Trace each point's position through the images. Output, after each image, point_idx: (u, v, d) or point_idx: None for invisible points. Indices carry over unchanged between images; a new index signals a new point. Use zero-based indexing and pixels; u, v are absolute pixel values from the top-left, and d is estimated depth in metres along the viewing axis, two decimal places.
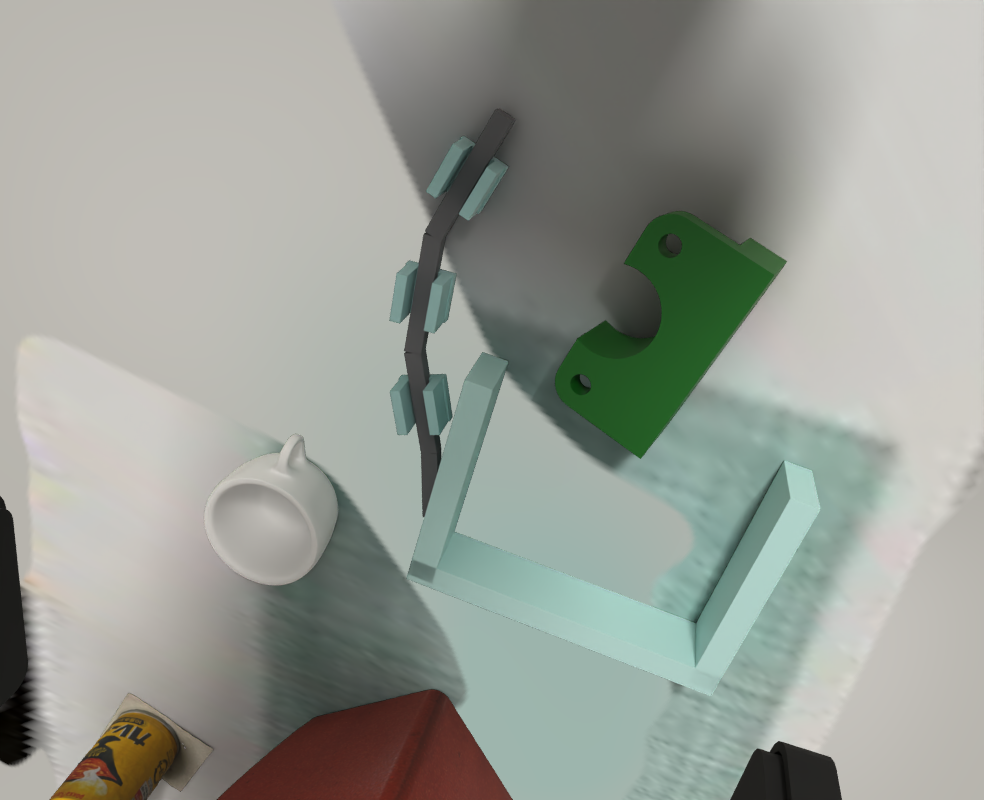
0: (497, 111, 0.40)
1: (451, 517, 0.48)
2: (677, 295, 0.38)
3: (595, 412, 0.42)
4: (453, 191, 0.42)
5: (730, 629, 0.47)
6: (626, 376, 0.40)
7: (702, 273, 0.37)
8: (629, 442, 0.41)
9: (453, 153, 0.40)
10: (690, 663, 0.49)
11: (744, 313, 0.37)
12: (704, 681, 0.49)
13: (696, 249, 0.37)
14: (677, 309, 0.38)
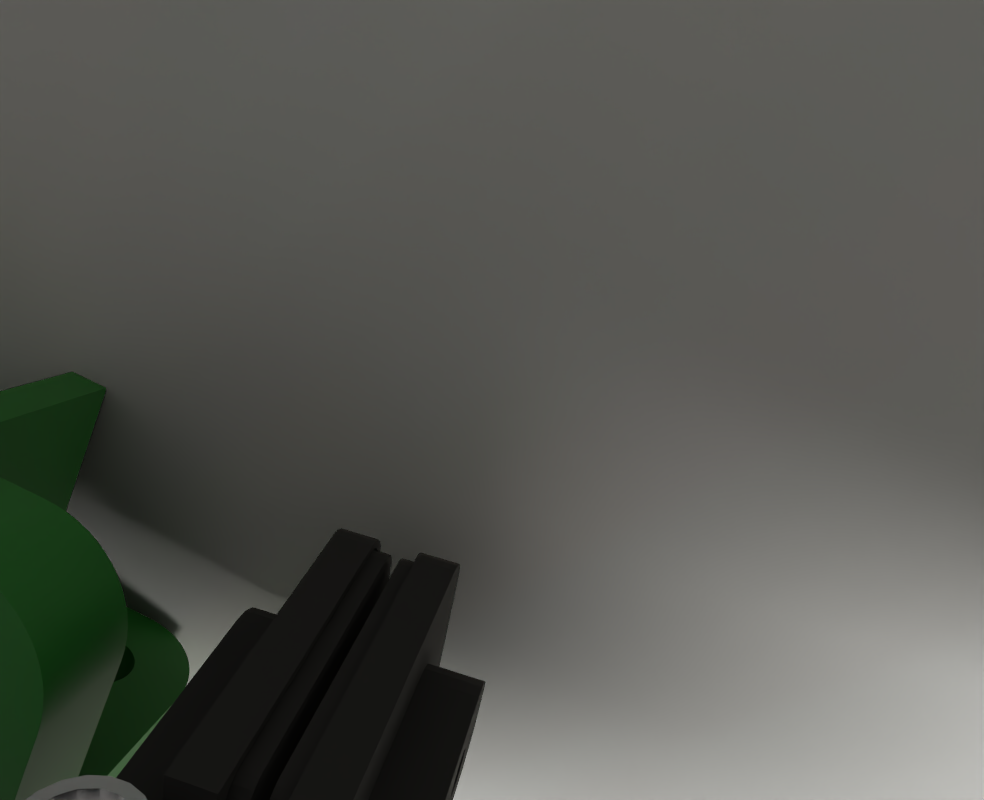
0: None
1: None
2: None
3: None
4: None
5: None
6: None
7: None
8: None
9: None
10: None
11: None
12: None
13: None
14: None
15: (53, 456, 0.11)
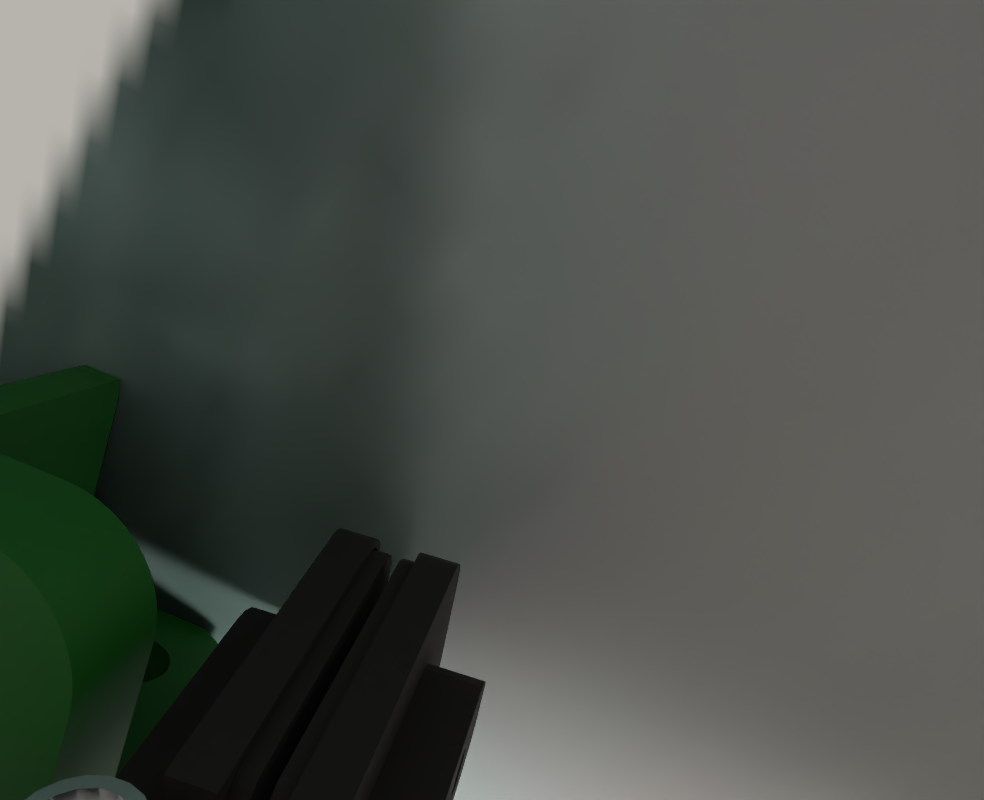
0: None
1: None
2: None
3: None
4: None
5: None
6: None
7: None
8: None
9: None
10: None
11: None
12: None
13: None
14: None
15: (73, 450, 0.11)
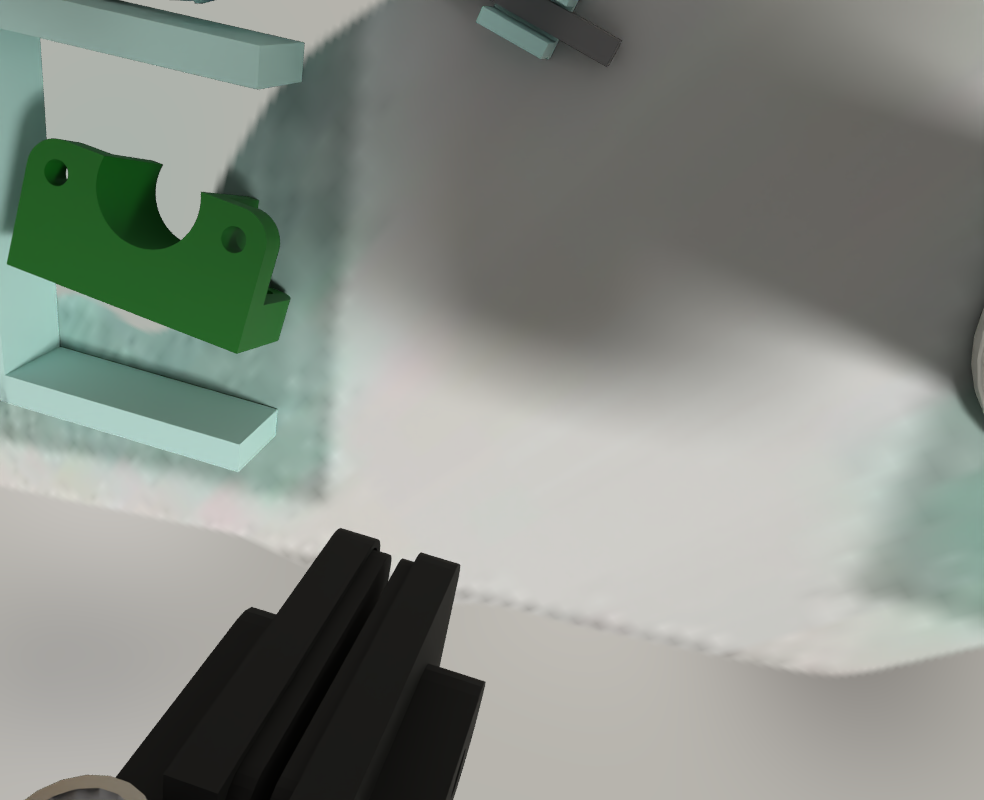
0: (618, 43, 0.31)
1: (56, 39, 0.33)
2: (187, 261, 0.35)
3: (33, 198, 0.35)
4: None
5: (68, 405, 0.41)
6: (85, 225, 0.35)
7: (217, 280, 0.35)
8: (18, 247, 0.36)
9: None
10: (7, 367, 0.41)
11: (192, 334, 0.35)
12: None
13: (238, 269, 0.34)
14: (174, 264, 0.35)
15: None
